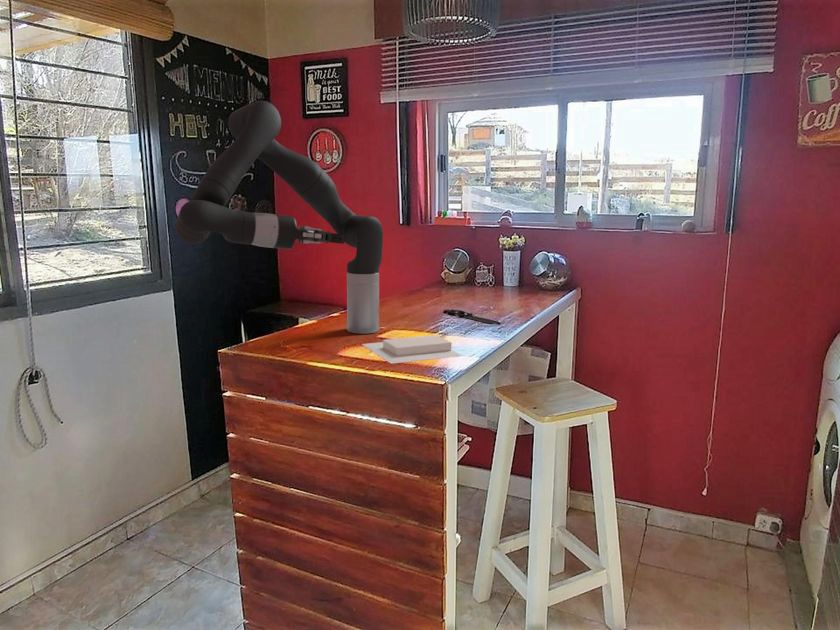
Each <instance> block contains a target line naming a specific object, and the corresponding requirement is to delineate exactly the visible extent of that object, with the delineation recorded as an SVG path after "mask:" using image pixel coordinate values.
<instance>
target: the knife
mask: <svg viewBox="0 0 840 630" xmlns="http://www.w3.org/2000/svg"><path fill="white" fill-rule="evenodd" d="M442 313H443V314H447V315H449V316H453V317H455V316H457V318H460V319H461V318H462V319H465V318H466V319H469V320H474V321H478V322H483V323H487V324H499V325H502V323H501V322H500V321H498V320H494V319H490V318H484V317H480V316H476V315H473V314H474V313H473V312H467V311H464V310H459V309H453V308H451V309H444V310H443V311H442Z"/></svg>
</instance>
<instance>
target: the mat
mask: <svg viewBox="0 0 840 630" xmlns="http://www.w3.org/2000/svg"><path fill="white" fill-rule="evenodd" d="M361 345H362V347H365V348H366V349H368V350H370V351H371V352H372V353H374V354H376V355H377V356H378V357H381V358H382V359H383V360H385V362H387V363H389V364H392V365H393V364H400V363H401V364H402V363H410V362H419V361H420V362H421V361H428V360H437V359H439V360H440V359H446V358H456V357H463V355H462V354H460V353H458V352H456V351H454V350H452V349H451V350H449V351H440V352H430V353H421V354H411V355H402V356H396V355H394V354H393V353H391V352H389V351H388V350H386V349H385V348H383V341H381V342H371V343H370V342H369V343H361Z"/></svg>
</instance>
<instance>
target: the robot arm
mask: <svg viewBox="0 0 840 630" xmlns="http://www.w3.org/2000/svg"><path fill="white" fill-rule="evenodd" d="M227 124H228V129H229V131H230V133H231V135H232V137H233V138H234V139H235V140H234V141H233V142H231V143H232V144H230V145H229V147H227V148H226V149H225V150H224V151H223V152H222V153H221V154H220V155H219V156H218V157H216V159H215V160H214V161H213V163H212V164H211V165H210V166H209V167H208V169H207V170H206V172H205V174H203V177H202V178H201V179H200V181H199V182H198V184H197V186H196V189H195V192H194V195H193V197H192V198H191V200H189V201H187V202H185V203H184V204H183V205H182V206H181V207H180V209H179V212H178V216H177V219H176V222H175V231H176V234H177V236H178V238H179V239H180V240H181V241H183V242H184V243H186V244H191V245H197V244H200V243H202V242H204V241H206V239H207V238H208V237H209V235H210V234H211V232H212V233H216V234H220V235H222V236H223V238H224V239H225V241H227V242H229V243H234V244H240V245H241V244H242V245H252V246H257V247H261V248H262V247H263V248H271V249H280V250H292V249H293V247H294V246H295V243H296V240H297V243H299V244H307V245H308V244H322V243H323V244H330V243H333V244H346V245H347V246H349V247H351V248H354V249H355V250H356V253H355V257H354V258H353V259H352V260H349V261H348V262H347V264H346V295H347V296H346V306H347V307H346V310H347V311H346V312H347V314H346V316H347V319H346V323H347V325H346V328H347V329H346V331H347V332H348V333H353V334H358V335H359V334H360V335H361V334H362V335H366V334H367V335H368V334H374V333H377V332H379V331H380V268H381V267H380V266H381V264H382V261H383V247H384V246H383V245H384V244H383V243H384V231H383V225H382V222H381V221H380V220H379V219H378V218H376V217H375V216H372V215H359V214H356V213H355V212H353V211H352V210H351V209H350V208H349V207H348V206H346V205H345V204H344V202H343V201H342V200H341V199H340V196H339V193H338V189H337V186H336V184H335V183H334V181H333V179H332V178H331V177H330V176H329V174H328V172H326V171H325V170H324V169H323V168H322V167H321V166H320V165H319V164H318V163H317V162H315V161H314V160H312V159H311V158H309V157H307V156H305V155H302V154H300V153H298V152H296V151H293V150H291V149H289V148H287V147H285V146H284V145H282V144H281V143H280V142H278V141H277V140H276V139H275V138H276V137H277V136H278V135H279V133H280V131H281V129H282V128H281V127H282V118H281V115H280V112H279V110H278V109H277V108H276V106H275V105H274V104H272V103H271V102H270V101H266V100H256V101H253V102H250V103H248V104H246V105H244V106H242V107H239V108H237V109H236V110H235V109H234V110H233V112H231V114H230V115H229V117H228V123H227ZM257 159H258V160H260V161H261V162H262V163H264V164H265V165H266V166H267V167H269V168H270V170H272V171H273V172H274V174H276V175H277V176H278V177H279V178H280V179H281V180H283V182H284V183H286V184H287V185H288V186H289V187H290V188H291V189H292V191H294V193H296V194H297V195H298V196H299V197H300V198H301V199H302V200H303V201H304V202H305V204H308V206H310V207H311V208H312V209H313V210H314V211H315V212H316V213H317V214H318V215H319V216H321V218H323V219H324V220H325V221H326V222H327V223H328V225H329V226H330V227H331V228H332V229H333V230H334V231H335V233H333V232H330V231H328V230H324V231H323V229H322V228H314V227H311V226H308V225H299V227H298V226H297V219H296V218H295V217H294V216H290V215H282V214H274V213H266V212H250V211H242V210H241V211H240V210H233V209H231V208H229V207H227V204H228V202H229V201H230V199H231V198H232V197H233V194H234V193H235V191H236V189H237V188H238V186H239V185H240V183H241V181H242V180H243V178H244V176H245V175H246V174H247V172H248V170H249V169H250V168H251V167H252V165H253V164H254V162H256V160H257Z"/></svg>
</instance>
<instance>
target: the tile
mask: <svg viewBox="0 0 840 630" xmlns="http://www.w3.org/2000/svg"><path fill="white" fill-rule="evenodd" d="M382 342H383V348H385V349H386V350H388V351H389V352H391V353H393V354H394V355H396V356H402V355H411V354H421V353H430V352H440V351H449V350H452V342H451V341H449V340H447V339H445V338H443V337H440V336H439V335H436V334H434V335H433V334H432V335H420V336H411V337H401V338H400V337H399V338H390V339H389V338H387V339H383V340H382Z"/></svg>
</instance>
